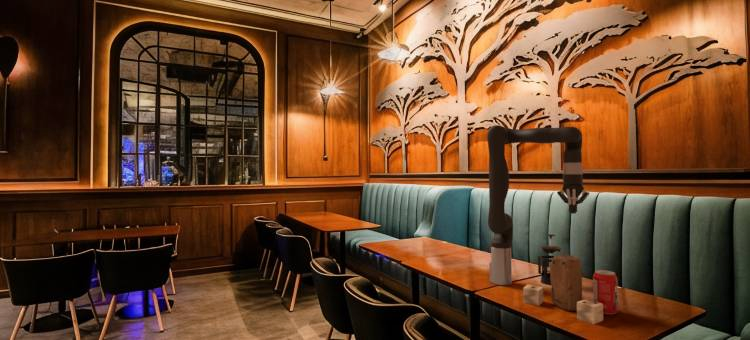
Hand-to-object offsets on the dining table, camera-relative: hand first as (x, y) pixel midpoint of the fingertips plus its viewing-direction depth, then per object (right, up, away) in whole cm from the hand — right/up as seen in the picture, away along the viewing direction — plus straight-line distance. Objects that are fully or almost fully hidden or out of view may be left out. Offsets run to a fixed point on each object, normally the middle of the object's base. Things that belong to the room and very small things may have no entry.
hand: (573, 213), depth 159 cm
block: (-11, -35, -15) cm, 40 cm away
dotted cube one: (-21, -35, -9) cm, 42 cm away
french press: (-2, -35, +18) cm, 40 cm away
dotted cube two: (-9, -35, -27) cm, 45 cm away
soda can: (+1, -35, -20) cm, 40 cm away
